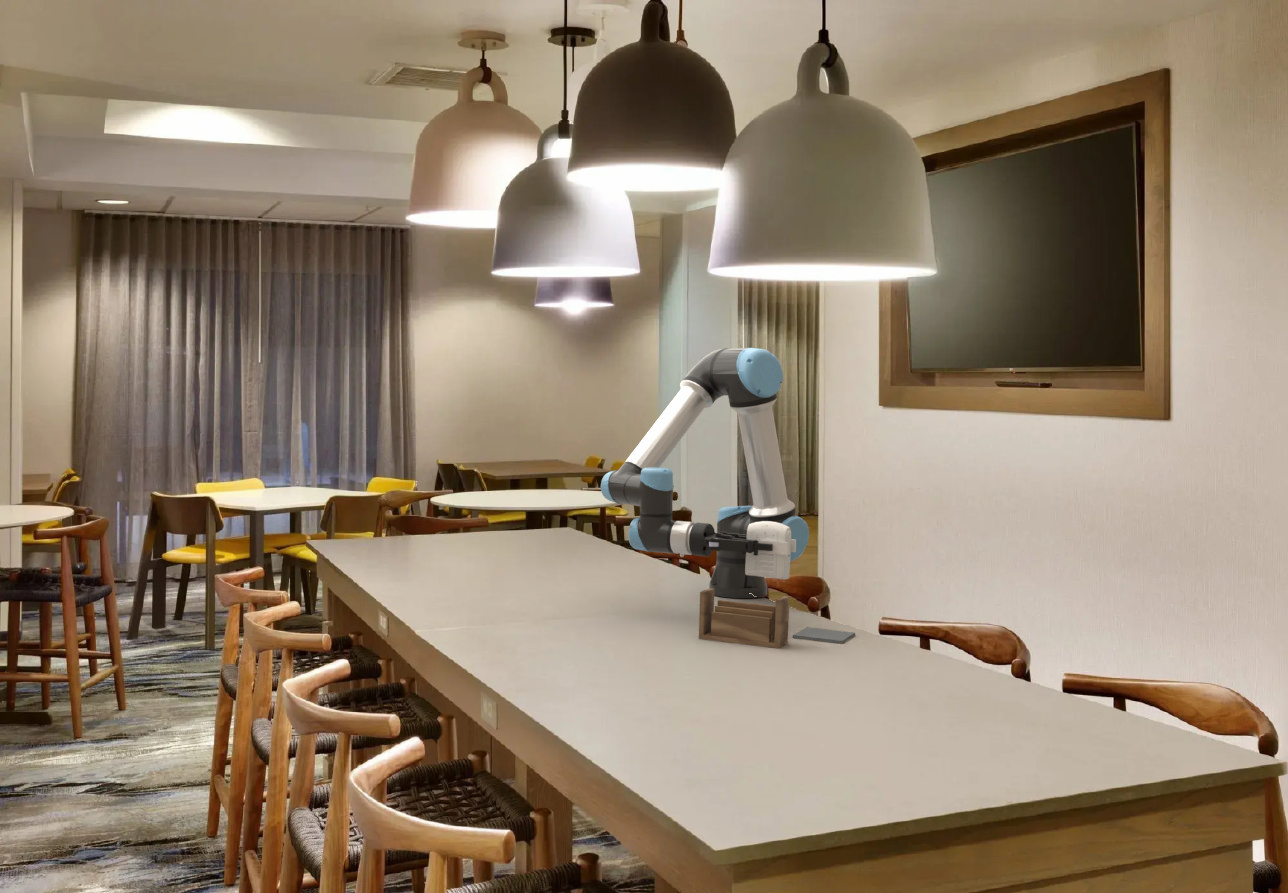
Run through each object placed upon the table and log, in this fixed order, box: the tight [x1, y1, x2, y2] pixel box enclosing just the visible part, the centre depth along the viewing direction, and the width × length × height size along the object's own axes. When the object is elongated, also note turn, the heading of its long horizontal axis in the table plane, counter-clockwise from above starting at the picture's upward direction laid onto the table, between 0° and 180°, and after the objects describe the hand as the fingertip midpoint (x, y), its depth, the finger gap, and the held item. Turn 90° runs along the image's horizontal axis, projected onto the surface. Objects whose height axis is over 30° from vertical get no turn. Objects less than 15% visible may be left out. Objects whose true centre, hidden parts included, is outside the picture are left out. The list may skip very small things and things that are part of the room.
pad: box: [792, 626, 856, 644], centre depth 261 cm, size 10×11×1 cm
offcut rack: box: [698, 587, 790, 649], centre depth 254 cm, size 6×18×10 cm, turn 64°
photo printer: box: [745, 521, 791, 581], centre depth 266 cm, size 10×4×12 cm, turn 61°
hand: (791, 547), depth 263 cm, fingers closed on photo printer, 4 cm apart
